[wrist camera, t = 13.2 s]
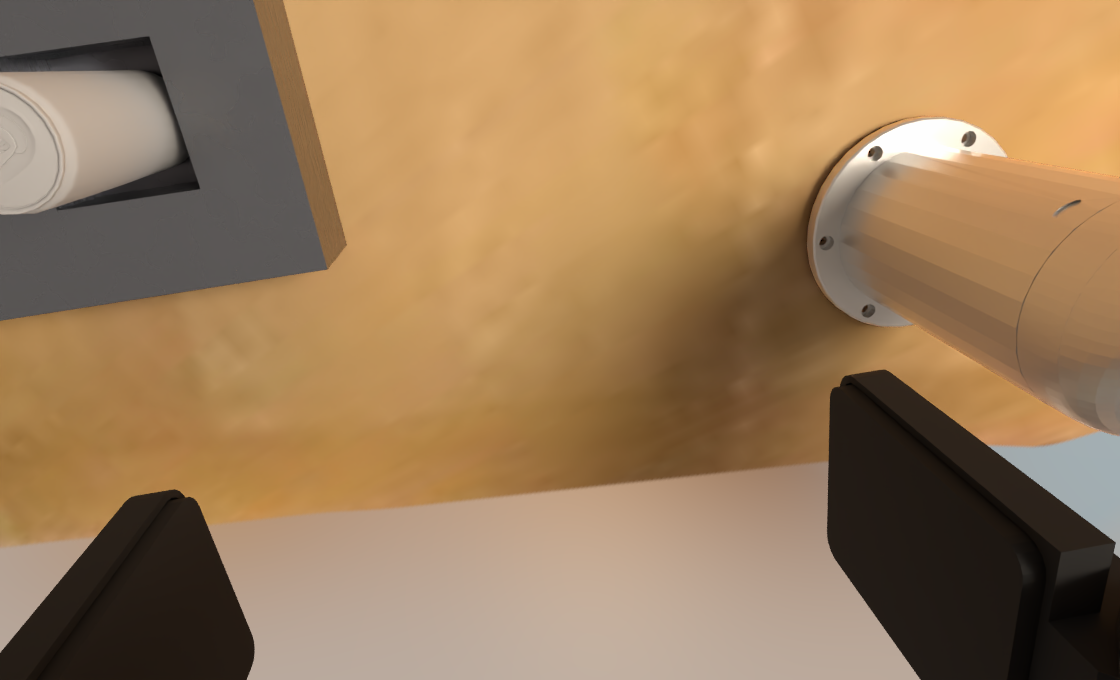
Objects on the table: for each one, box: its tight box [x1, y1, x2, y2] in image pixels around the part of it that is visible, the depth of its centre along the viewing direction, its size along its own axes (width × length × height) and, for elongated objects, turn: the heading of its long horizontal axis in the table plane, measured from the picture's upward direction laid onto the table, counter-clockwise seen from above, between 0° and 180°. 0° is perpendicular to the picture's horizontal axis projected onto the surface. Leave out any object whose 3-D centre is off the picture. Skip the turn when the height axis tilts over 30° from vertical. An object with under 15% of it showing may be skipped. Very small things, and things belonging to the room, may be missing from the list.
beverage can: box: [0, 70, 189, 215], centre depth 29 cm, size 5×5×12 cm
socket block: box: [0, 0, 346, 321], centre depth 33 cm, size 16×16×5 cm
